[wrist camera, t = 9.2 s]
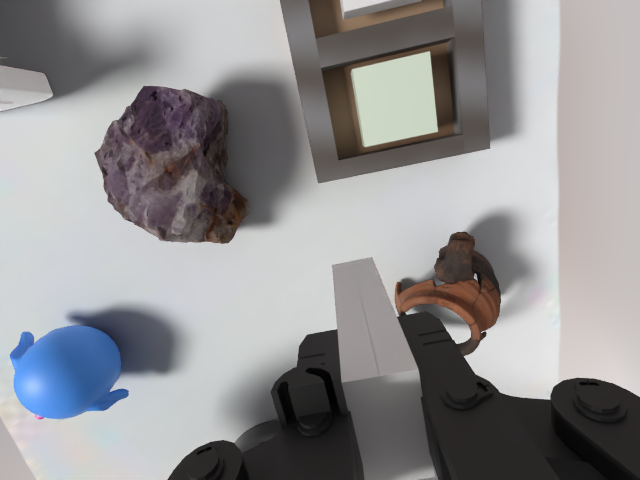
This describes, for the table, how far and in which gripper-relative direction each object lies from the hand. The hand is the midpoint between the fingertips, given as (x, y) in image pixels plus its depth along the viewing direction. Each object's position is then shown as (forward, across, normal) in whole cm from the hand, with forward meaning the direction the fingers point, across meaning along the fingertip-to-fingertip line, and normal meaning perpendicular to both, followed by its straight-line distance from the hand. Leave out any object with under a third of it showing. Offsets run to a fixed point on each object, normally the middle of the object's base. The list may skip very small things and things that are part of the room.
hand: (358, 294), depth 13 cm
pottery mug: (+21, -9, +10) cm, 25 cm away
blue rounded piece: (+22, +30, +12) cm, 40 cm away
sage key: (+18, -6, -7) cm, 20 cm away
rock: (+21, +12, -6) cm, 25 cm away
